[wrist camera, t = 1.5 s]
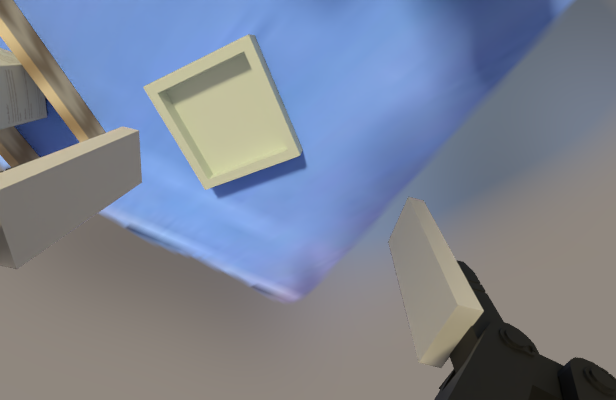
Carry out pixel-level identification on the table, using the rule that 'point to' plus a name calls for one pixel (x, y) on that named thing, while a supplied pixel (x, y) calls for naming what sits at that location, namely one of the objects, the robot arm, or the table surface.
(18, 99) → the supplement box
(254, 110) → the tray
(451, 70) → the table surface
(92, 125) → the open u-shaped frame
